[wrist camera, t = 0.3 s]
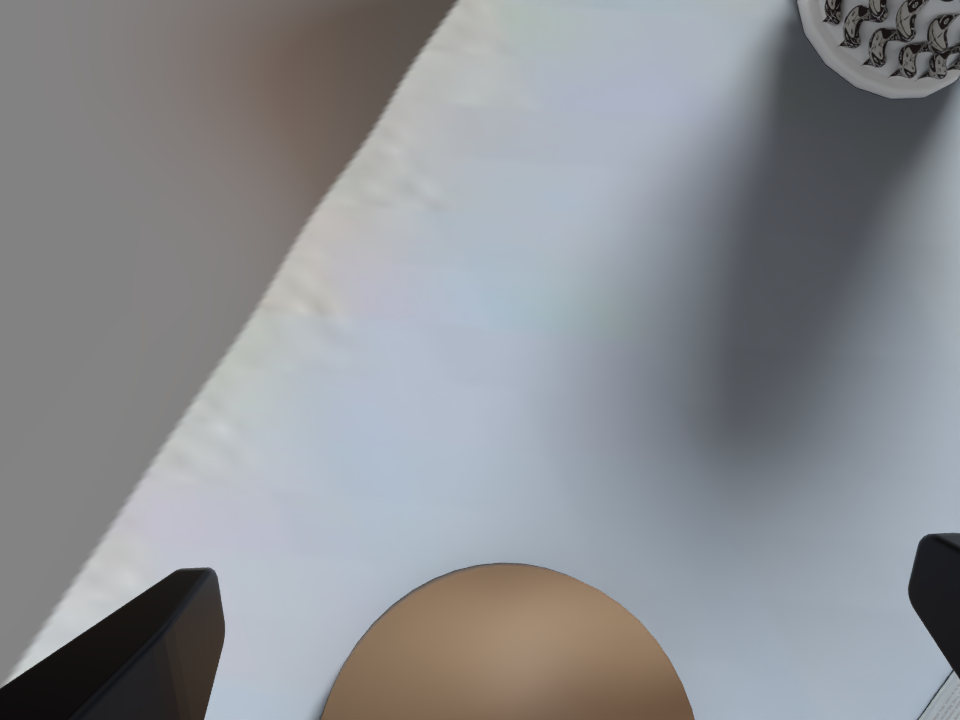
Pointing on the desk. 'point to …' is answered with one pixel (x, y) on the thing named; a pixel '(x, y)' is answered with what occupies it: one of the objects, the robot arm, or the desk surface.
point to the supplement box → (945, 702)
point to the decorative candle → (887, 43)
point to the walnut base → (507, 654)
